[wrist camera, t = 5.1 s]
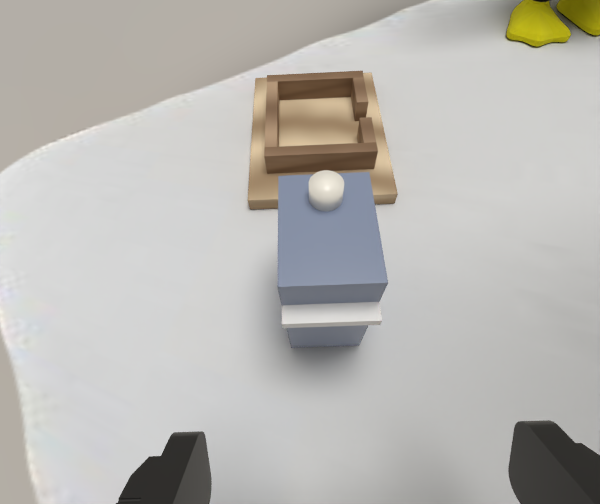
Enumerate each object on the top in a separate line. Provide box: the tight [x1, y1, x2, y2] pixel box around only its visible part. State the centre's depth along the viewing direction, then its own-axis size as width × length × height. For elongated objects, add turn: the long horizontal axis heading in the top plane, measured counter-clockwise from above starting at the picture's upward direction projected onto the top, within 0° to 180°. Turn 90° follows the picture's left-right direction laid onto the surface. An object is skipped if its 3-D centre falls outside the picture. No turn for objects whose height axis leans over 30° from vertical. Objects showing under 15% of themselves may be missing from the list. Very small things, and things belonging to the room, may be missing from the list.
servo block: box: [278, 170, 388, 348], centre depth 19 cm, size 8×4×11 cm, turn 1°
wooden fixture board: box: [248, 71, 397, 209], centre depth 31 cm, size 16×12×3 cm
